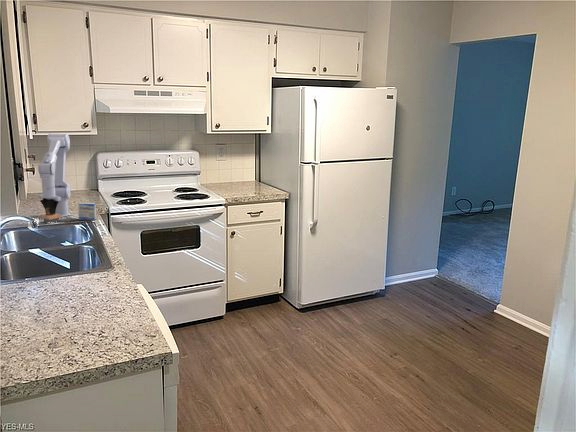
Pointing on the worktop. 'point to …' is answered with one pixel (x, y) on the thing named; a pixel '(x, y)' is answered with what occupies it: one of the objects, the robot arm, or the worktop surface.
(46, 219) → the storage box
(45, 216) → the lid
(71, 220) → the rubber mat
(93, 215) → the medicine box
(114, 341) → the worktop surface
